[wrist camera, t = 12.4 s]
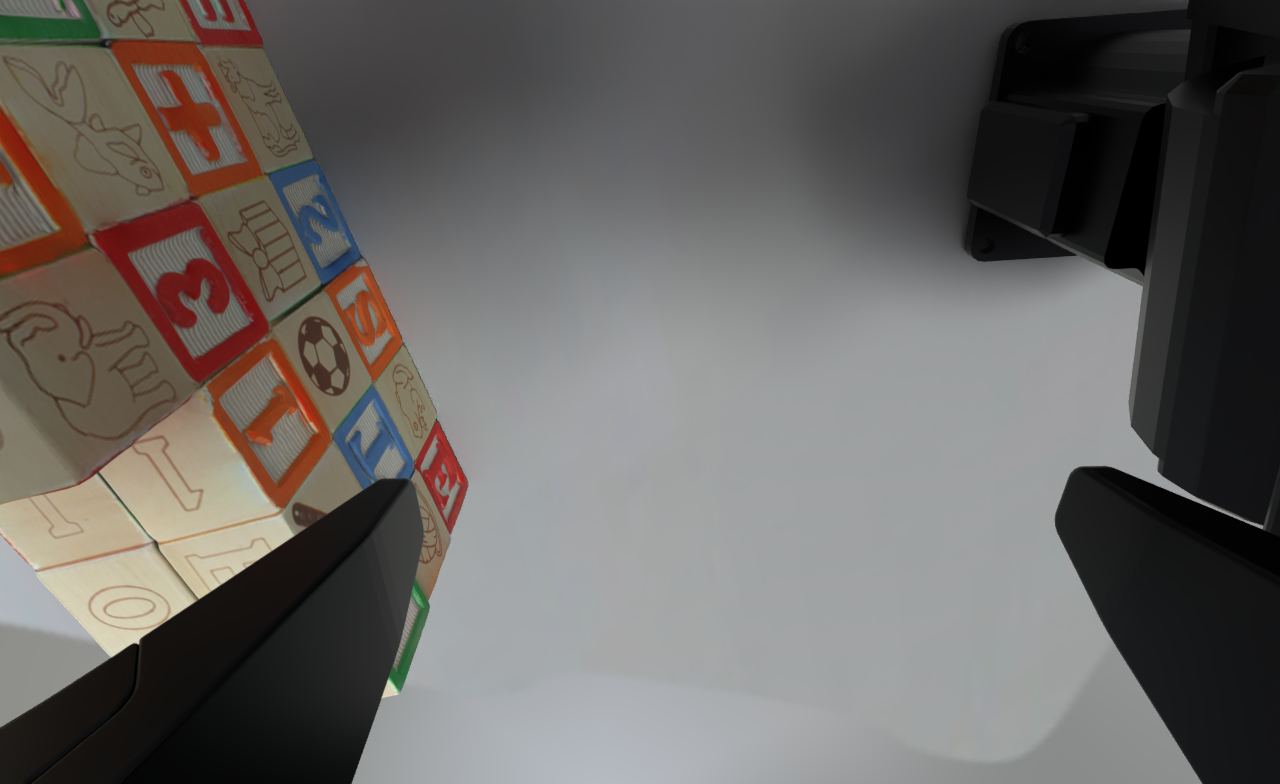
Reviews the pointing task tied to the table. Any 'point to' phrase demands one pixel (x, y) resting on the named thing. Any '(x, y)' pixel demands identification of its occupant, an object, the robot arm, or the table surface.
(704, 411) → the table surface
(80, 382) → the stack of blocks
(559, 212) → the table surface
